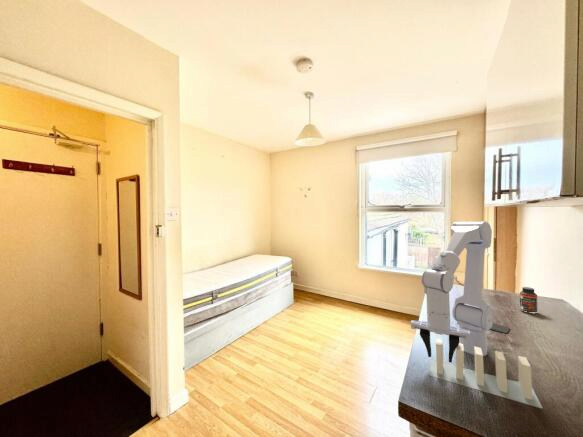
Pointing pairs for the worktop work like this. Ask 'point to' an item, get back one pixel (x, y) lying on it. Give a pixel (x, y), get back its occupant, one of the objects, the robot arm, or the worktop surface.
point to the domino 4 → (525, 377)
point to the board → (489, 383)
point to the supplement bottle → (528, 300)
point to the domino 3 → (501, 371)
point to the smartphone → (500, 329)
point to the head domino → (439, 355)
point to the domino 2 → (479, 366)
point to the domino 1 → (459, 361)
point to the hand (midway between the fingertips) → (439, 358)
